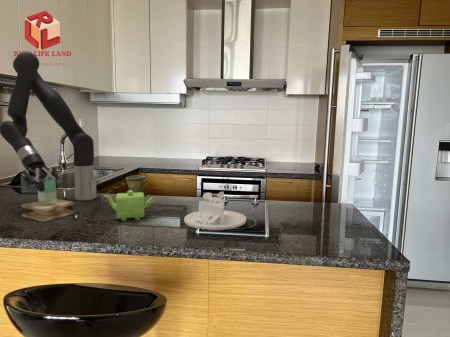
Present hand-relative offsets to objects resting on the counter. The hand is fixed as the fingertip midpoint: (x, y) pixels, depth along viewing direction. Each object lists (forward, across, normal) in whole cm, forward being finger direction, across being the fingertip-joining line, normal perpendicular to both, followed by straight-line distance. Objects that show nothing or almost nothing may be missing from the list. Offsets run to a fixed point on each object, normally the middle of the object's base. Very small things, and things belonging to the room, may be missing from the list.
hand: (49, 189), depth 134 cm
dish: (+52, +30, -35) cm, 69 cm away
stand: (+7, 0, +9) cm, 11 cm away
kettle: (+29, +15, -13) cm, 35 cm away
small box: (-28, +23, +44) cm, 57 cm away
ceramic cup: (+10, +48, +6) cm, 49 cm away
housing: (+3, 0, +6) cm, 6 cm away
